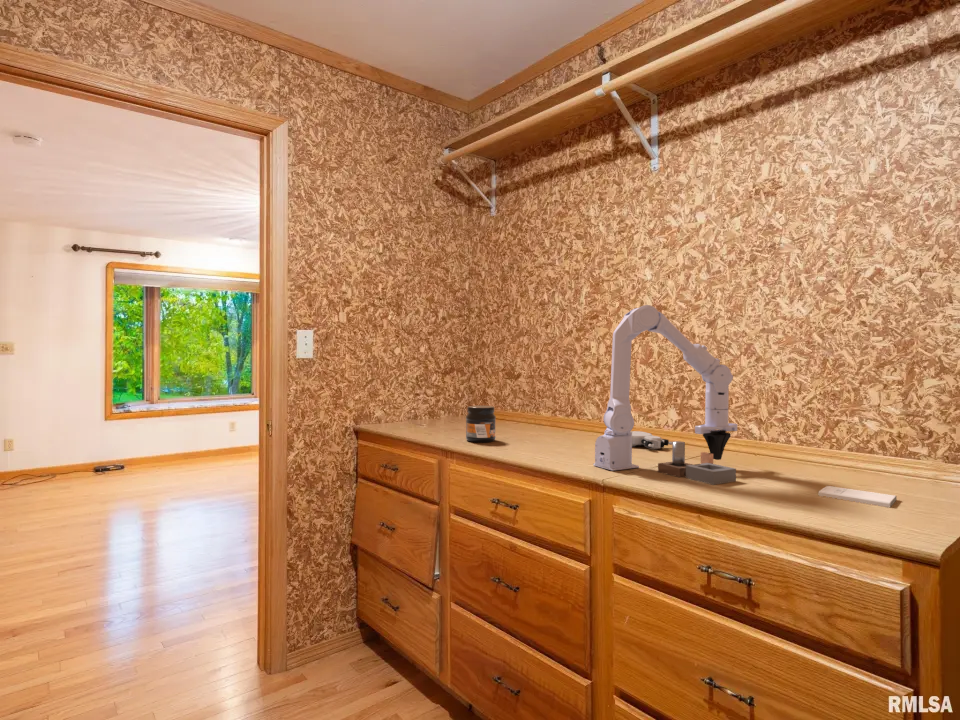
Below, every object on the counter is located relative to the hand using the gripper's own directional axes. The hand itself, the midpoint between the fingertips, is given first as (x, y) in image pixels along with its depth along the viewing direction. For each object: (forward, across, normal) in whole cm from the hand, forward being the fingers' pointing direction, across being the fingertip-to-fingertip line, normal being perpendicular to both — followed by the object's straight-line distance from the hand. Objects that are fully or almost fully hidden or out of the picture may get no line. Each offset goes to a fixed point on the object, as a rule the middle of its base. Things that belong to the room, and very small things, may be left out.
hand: (716, 459), depth 143 cm
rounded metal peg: (+2, -14, 0) cm, 15 cm away
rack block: (+2, -13, -8) cm, 16 cm away
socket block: (+2, -14, 0) cm, 15 cm away
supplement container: (+3, -36, +68) cm, 77 cm away
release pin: (+2, -6, 0) cm, 7 cm away
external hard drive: (+3, +1, -34) cm, 34 cm away
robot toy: (+3, +7, +33) cm, 34 cm away
